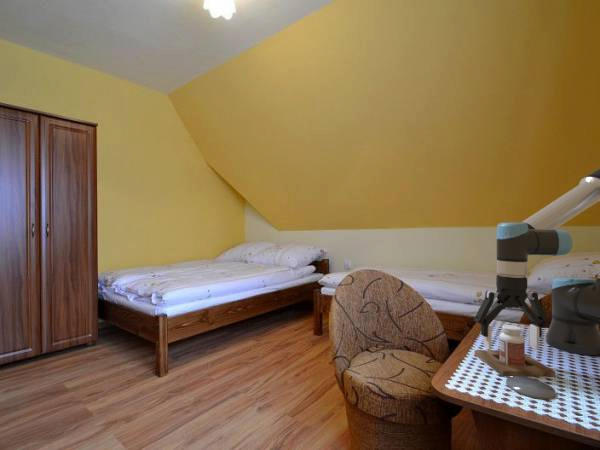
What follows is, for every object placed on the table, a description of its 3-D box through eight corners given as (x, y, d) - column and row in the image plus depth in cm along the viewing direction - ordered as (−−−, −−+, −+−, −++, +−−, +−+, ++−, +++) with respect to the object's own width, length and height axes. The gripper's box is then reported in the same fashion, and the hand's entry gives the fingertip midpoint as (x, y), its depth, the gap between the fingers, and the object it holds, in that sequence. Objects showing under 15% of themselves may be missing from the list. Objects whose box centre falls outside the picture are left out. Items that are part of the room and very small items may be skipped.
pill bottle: (528, 366, 90) (528, 328, 90) (519, 372, 87) (519, 332, 87) (505, 358, 96) (505, 322, 96) (495, 363, 92) (495, 326, 92)
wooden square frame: (519, 355, 98) (519, 350, 98) (555, 376, 84) (555, 371, 84) (474, 354, 98) (474, 350, 98) (502, 376, 84) (502, 371, 84)
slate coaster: (535, 378, 83) (535, 376, 83) (566, 399, 73) (566, 397, 73) (497, 378, 83) (497, 376, 83) (523, 399, 73) (523, 396, 73)
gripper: (544, 273, 95) (544, 343, 95) (462, 272, 95) (461, 342, 95) (565, 277, 87) (564, 353, 87) (475, 277, 88) (474, 352, 88)
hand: (510, 347), depth 91 cm, fingers open, 13 cm apart
